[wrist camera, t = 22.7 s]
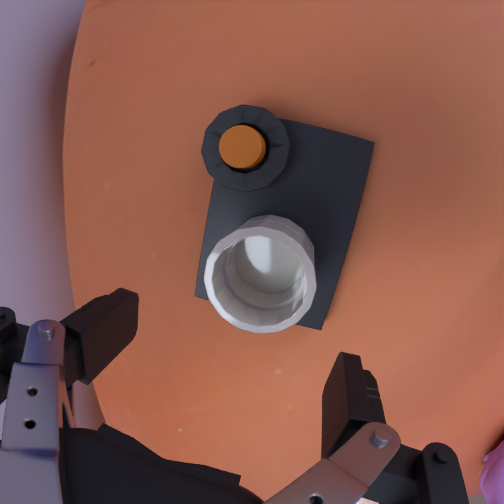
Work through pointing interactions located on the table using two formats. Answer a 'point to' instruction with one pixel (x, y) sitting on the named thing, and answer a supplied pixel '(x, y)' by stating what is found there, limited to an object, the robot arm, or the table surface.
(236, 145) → the button
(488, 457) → the teapot
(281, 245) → the white round cup
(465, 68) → the table surface
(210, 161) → the dark grey flat slab
